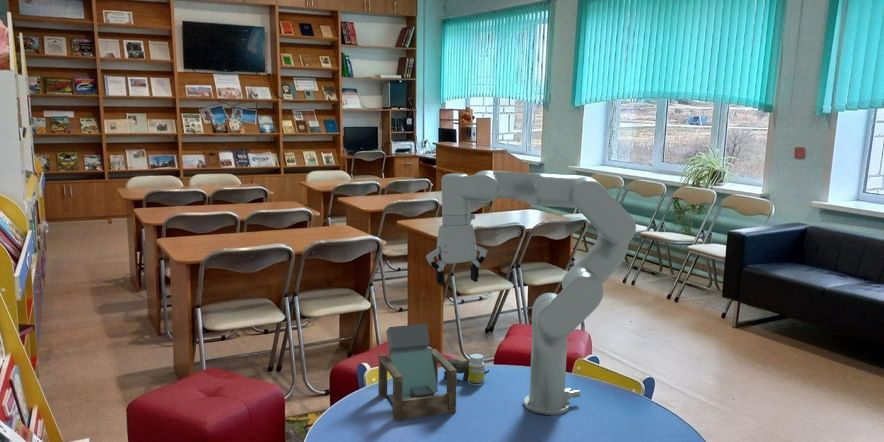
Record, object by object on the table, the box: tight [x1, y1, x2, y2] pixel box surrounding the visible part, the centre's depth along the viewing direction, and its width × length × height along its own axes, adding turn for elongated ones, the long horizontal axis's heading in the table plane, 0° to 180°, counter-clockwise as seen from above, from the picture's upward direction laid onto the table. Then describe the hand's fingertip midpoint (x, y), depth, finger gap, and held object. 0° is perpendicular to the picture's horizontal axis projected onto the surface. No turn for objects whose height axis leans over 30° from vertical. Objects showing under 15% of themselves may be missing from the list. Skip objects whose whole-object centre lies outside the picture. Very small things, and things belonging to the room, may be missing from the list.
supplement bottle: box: [467, 353, 485, 387], centre depth 204 cm, size 5×5×8 cm
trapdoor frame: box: [377, 348, 458, 422], centre depth 188 cm, size 17×17×12 cm
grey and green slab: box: [385, 323, 439, 396], centre depth 192 cm, size 12×19×4 cm
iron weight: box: [410, 386, 435, 398], centre depth 185 cm, size 5×5×5 cm
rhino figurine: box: [443, 358, 490, 381], centre depth 207 cm, size 4×14×6 cm, turn 83°
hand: (457, 282), depth 185 cm, fingers open, 9 cm apart
